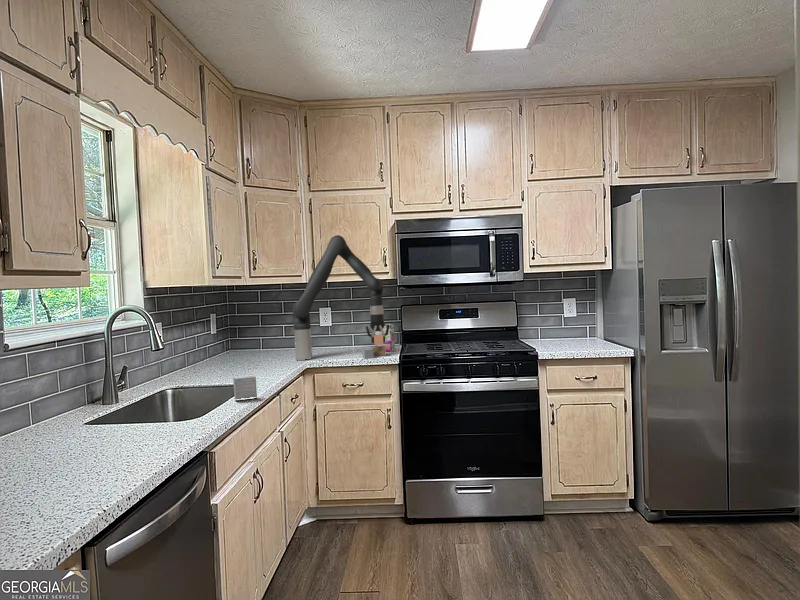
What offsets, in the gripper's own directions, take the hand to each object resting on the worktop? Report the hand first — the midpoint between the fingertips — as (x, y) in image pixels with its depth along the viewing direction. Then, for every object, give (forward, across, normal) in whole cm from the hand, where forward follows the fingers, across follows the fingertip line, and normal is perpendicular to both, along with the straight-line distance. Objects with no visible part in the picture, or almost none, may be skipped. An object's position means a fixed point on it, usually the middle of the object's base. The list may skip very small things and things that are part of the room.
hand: (378, 343), depth 311 cm
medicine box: (+7, +63, +94) cm, 114 cm away
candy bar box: (+7, -6, -16) cm, 18 cm away
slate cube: (+7, +7, +7) cm, 12 cm away
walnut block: (+7, 0, 0) cm, 7 cm away
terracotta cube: (0, 0, 0) cm, 0 cm away
